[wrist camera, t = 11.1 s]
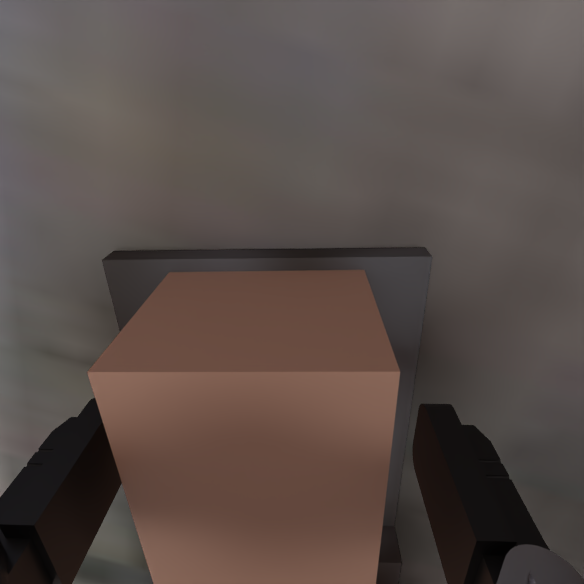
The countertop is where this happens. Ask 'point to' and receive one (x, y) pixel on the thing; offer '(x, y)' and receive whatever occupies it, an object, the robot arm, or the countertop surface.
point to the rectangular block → (254, 426)
